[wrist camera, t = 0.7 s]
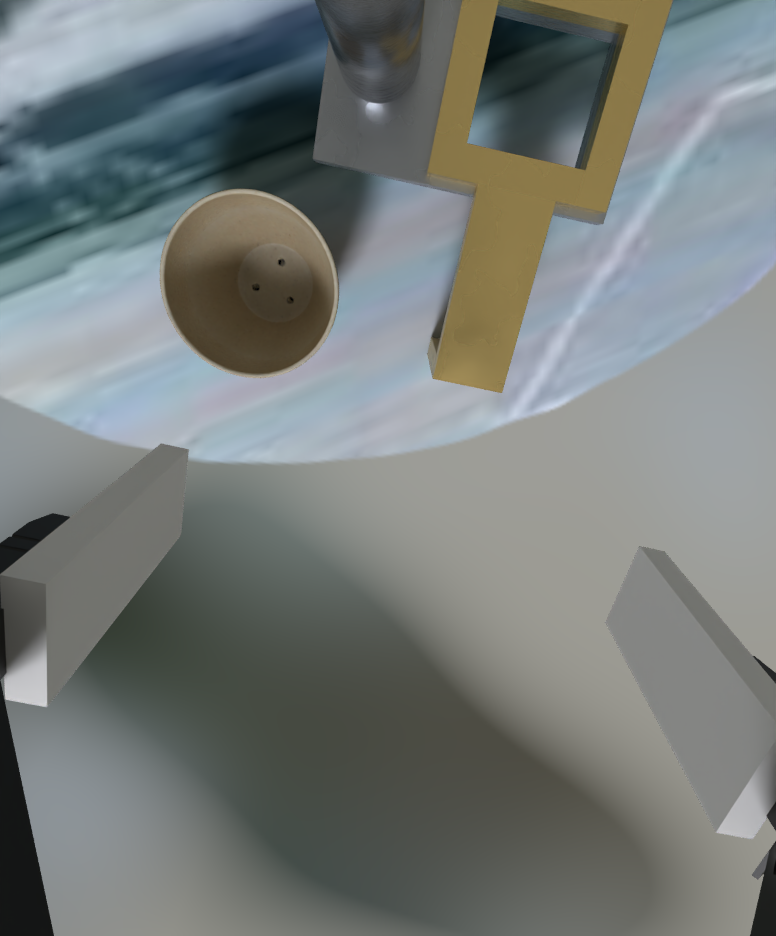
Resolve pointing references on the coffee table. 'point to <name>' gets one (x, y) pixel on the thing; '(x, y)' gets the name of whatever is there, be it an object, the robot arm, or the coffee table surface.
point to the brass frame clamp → (469, 166)
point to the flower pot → (249, 283)
